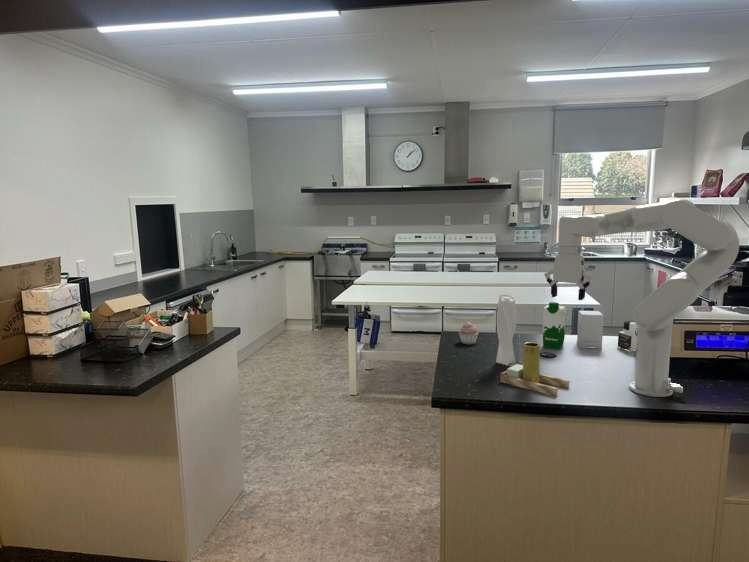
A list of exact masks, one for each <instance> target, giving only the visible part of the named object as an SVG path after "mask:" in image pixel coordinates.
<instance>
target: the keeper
mask: <svg viewBox="0 0 749 562" xmlns="http://www.w3.org/2000/svg"><path fill="white" fill-rule="evenodd" d="M506 370H507V376H510V377H514V378H518V379H522V372H523V364H516V365H514V366H512V367H507V369H506Z"/></svg>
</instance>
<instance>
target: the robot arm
mask: <svg viewBox="0 0 749 562" xmlns="http://www.w3.org/2000/svg"><path fill="white" fill-rule="evenodd" d="M668 229H671V230H673V231H674V232H676V233H677V234H679V235H681V236H683V237H684V238H686V239H687V240H688V241H690V242H692V243H694V244H696V245H697V246H699V247H700V248H702V251H701V252H700V253H699V254H698V255H697V256H696V257H695V258H694V259H692V260H691V261H690V262H689V263H688V264H687V265H685V266H684V267H683V268H682V269H681V270H680V271H679V272H677V273H675V274H673V275H672V276H671V277H668V278H667V279H666V280H664V282H662V283H660V285H659V286H658V287H657V288H655V289H654V290H653V291H652V292H650V293H649V294H648V296H646V297H645V298H644V299H643V300H642V301H641V302H640V303H638V304H637V305H636V306H635V308H634V309H633V311H632V312H633V314H632V318H633V321H634V322H635V323H636V325H637V326H638V327H639V328H638V337H637V351H635V353H636V354H635V370H634V381H631V382H629V384H628V386H629V387H628V388H629V389H630V390H631V391H632V392H634V393H636V394H639V395H642V396H647V397H653V398H654V397H655V398H667V397H670V396H672V395H673V392H676V393H681V394H682V393H683V391H684V387H683V386H681V384H677V383H673V382H672V381H671V380H672V379H671V377H669V373H670V357H671V356H670V354H671V348H672V347H671V345H672V335H673V334H672V333H673V325H674V319H675V318H676V317H677V316H679V315H680V314H681V313H683V311H685V310H686V309H687V308H689V306H691V305H692V304H693V303H694V302H695V301H696V300H697V299H698V298H699V296H700V295H701V294H702V293H703V292H704V291H705V290H706V289H707V288H709V287H710V286H711V285H712V284H714V282H715V281H718V279H719V278H720V277H721V276H722V275H724V274H725V273H726V272H727V271H728V270H729V268H731V267H732V265H733V264H734V262H735V261H736V259H737V257H738V254H739V250H740V241H739V236H738V233H737V231H736V229H735V227H734V226H733V225H732V224H731V223H730V222H729V221H726V220H722V219H717V218H716V217H713V216H711V215H710V214H708V213H706V212H705V211H703V210H701V209H700V208H698V207H697V206H696V205H695V203H694V202H692V201H691V200H689V199H683V198H680V199H679V198H678V199H677V198H676V199H673V200H667V201H663V202H657V203H651V204H644V205H637V206H634V207H631V208H629V209H625V210H619V211H614V212H608V213H602V214H589V215H583V216H578V215H563V216H561V217H559V219H558V239H557V240H558V245H557V246H558V247H557V253H556V254H555V258H554V262H553V269H551V270H549V271H547V272H545V273H544V277H545V278H546V282H547V283H548V284H549V286H550V295H551V298H555V297H558V285H557V284H559V283H568V284H576V285H578V287H579V289H578V299H577V300H578V301H582V300H584V299H585V297H586V289H587V288H588V287H589V286H590V285H591V284H592V282H593V281H594V279H595V278H594V276H593V275H591V274H589V273H588V272H586V265H585V257H584V255H583V254H582V253H585V251H586V248H585V247H582V237H583V238H595V237H602V236H608V235H614V234H624V233H633V234H634V233H646V232H652V231H660V230H661V231H662V230H668ZM551 275H552V278H551ZM586 279H587V280H586ZM585 280H586V282H585Z"/></svg>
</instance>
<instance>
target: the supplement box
mask: <svg viewBox="0 0 749 562" xmlns="http://www.w3.org/2000/svg"><path fill="white" fill-rule="evenodd" d="M577 313H578V315H577V316H578V317H577V332H576V333H577V335H576V339H577V340H576V344H579V345H578V346H579V348H580V347H595V348H594V349H600V348H602V349H603V334H604V333H603V332H604V331H603V330H604V314H603V313H602V312H601V311H600V310H578V312H577Z"/></svg>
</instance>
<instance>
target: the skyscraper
mask: <svg viewBox="0 0 749 562" xmlns="http://www.w3.org/2000/svg"><path fill="white" fill-rule="evenodd" d="M516 326H517V306H516V300H515V298H514V297H513V296H511V295H508V294H500V295H499V296H498V303H497V310H496V331H497V337H498V346H497V347H498V348H497V354H496V359H495V360H496V361H495V363H496V364H497V363H498V365H501V364H502V365H501V366H504V365H505V366H504V367H508V366H509V367H508V368H510V367H512V366H514V365H516V364H520V365H522V362H521V355H522V353H521V344H522V343H521V342H520V341H521V339H520V338H521V336H520V331H518V333H517V334H518V336H517V342H516V354H515V351H514V344H513V339H514V336H515V332H516Z"/></svg>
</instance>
